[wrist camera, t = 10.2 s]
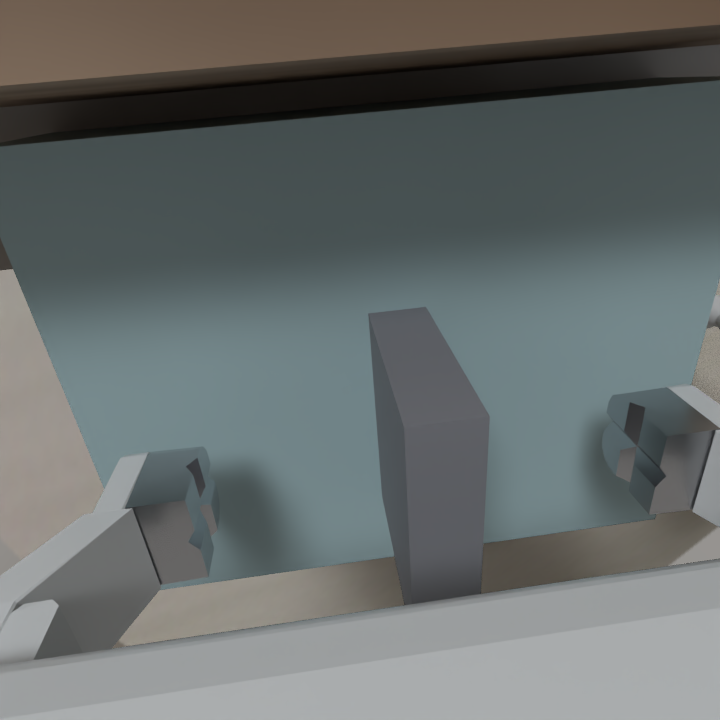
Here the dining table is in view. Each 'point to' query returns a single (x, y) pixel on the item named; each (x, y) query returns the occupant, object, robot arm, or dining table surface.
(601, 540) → the dining table surface
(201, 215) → the cabinet
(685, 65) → the wall board
